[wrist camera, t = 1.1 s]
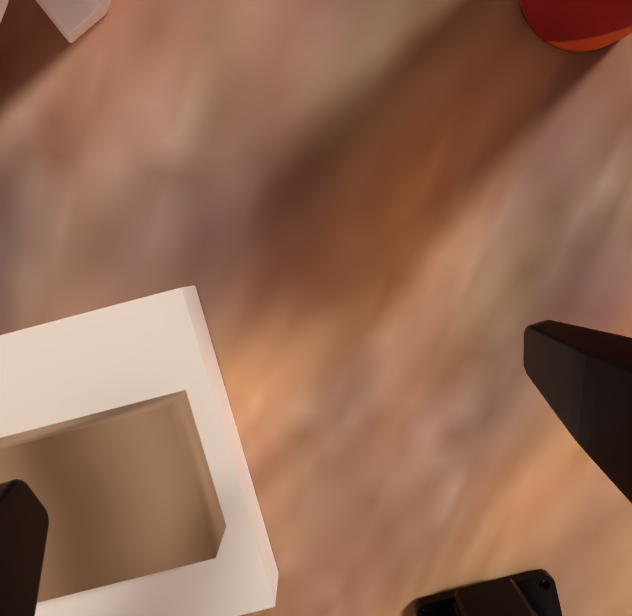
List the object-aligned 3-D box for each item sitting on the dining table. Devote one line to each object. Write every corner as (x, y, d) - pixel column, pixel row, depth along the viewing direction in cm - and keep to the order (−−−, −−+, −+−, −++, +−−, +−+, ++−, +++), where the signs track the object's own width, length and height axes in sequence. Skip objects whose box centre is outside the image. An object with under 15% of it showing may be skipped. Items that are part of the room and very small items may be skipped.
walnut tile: (185, 389, 18) (169, 405, 16) (226, 526, 18) (215, 558, 16) (-4, 438, 18) (-44, 460, 16) (43, 572, 18) (10, 609, 16)
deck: (278, 573, 21) (274, 606, 19) (-46, 654, 21) (-83, 695, 19) (195, 285, 19) (181, 287, 17) (-150, 376, 20) (-202, 388, 18)
